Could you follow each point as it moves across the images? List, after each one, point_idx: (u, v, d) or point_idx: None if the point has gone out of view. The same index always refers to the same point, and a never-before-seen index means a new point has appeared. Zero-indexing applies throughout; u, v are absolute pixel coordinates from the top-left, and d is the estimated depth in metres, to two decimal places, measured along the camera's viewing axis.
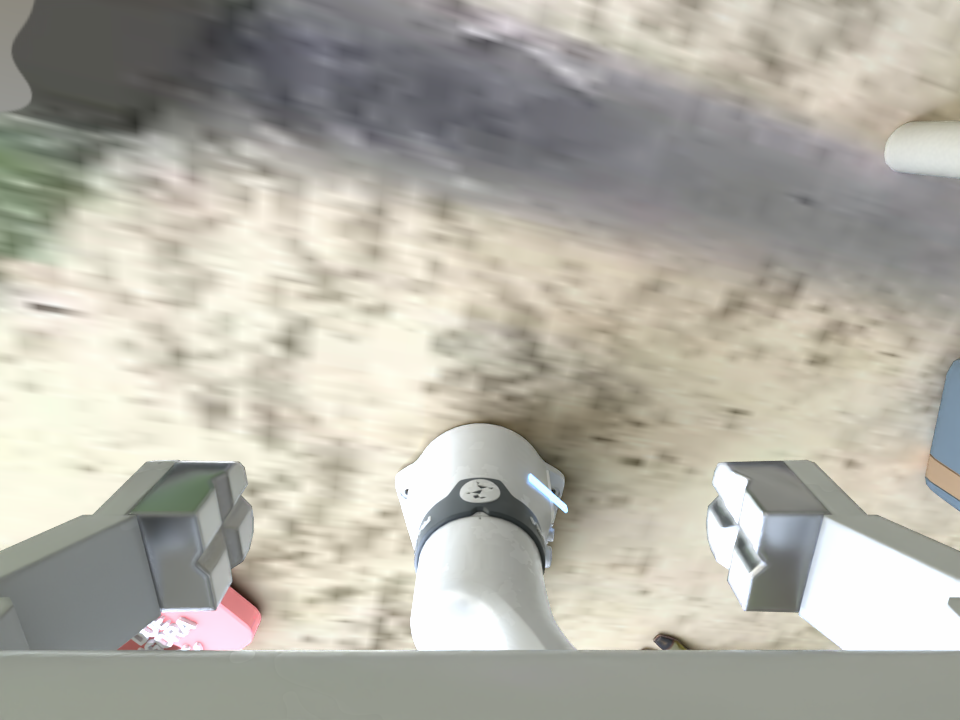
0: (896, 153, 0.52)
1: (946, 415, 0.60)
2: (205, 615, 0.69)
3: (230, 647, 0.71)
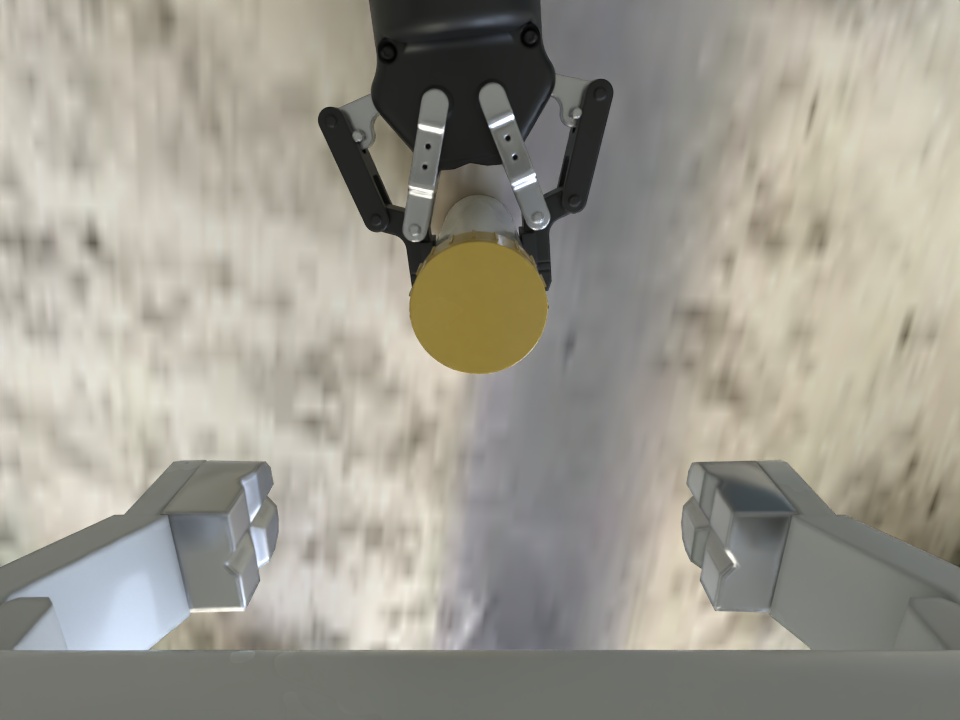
0: None
1: None
2: None
3: None
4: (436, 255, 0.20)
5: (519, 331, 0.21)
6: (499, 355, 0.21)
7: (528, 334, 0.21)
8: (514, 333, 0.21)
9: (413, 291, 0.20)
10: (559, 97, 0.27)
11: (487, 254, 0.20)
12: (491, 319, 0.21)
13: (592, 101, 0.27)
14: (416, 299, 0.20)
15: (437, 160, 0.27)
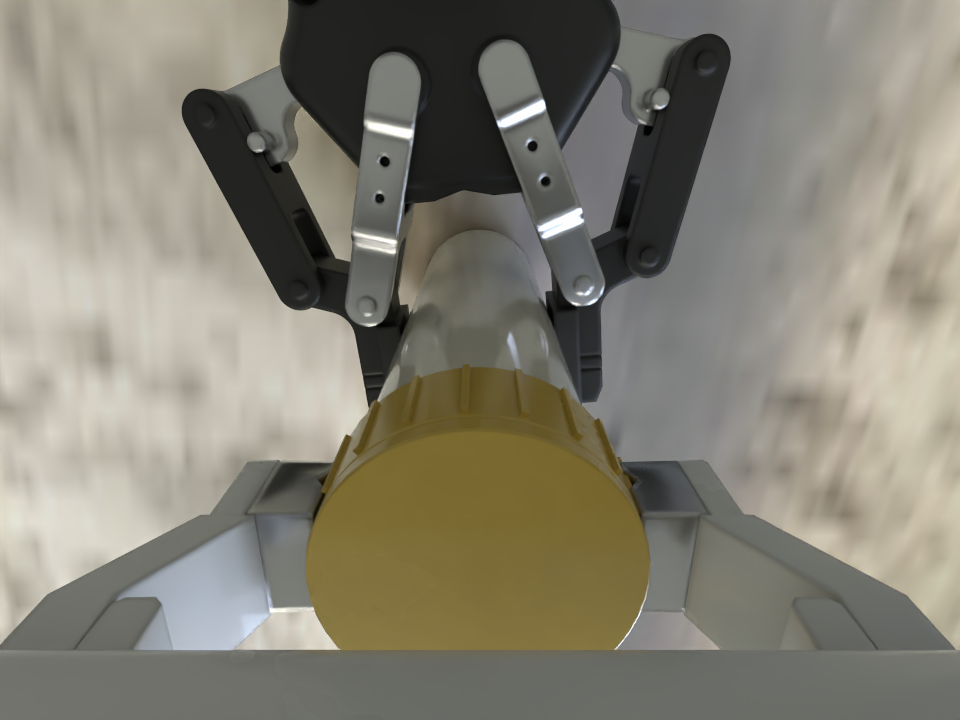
0: None
1: None
2: None
3: None
4: (367, 460, 0.08)
5: (577, 623, 0.09)
6: None
7: (599, 629, 0.09)
8: (565, 628, 0.09)
9: (312, 542, 0.08)
10: (626, 70, 0.15)
11: (500, 459, 0.08)
12: (509, 599, 0.08)
13: (690, 76, 0.14)
14: (321, 558, 0.08)
15: (402, 187, 0.15)
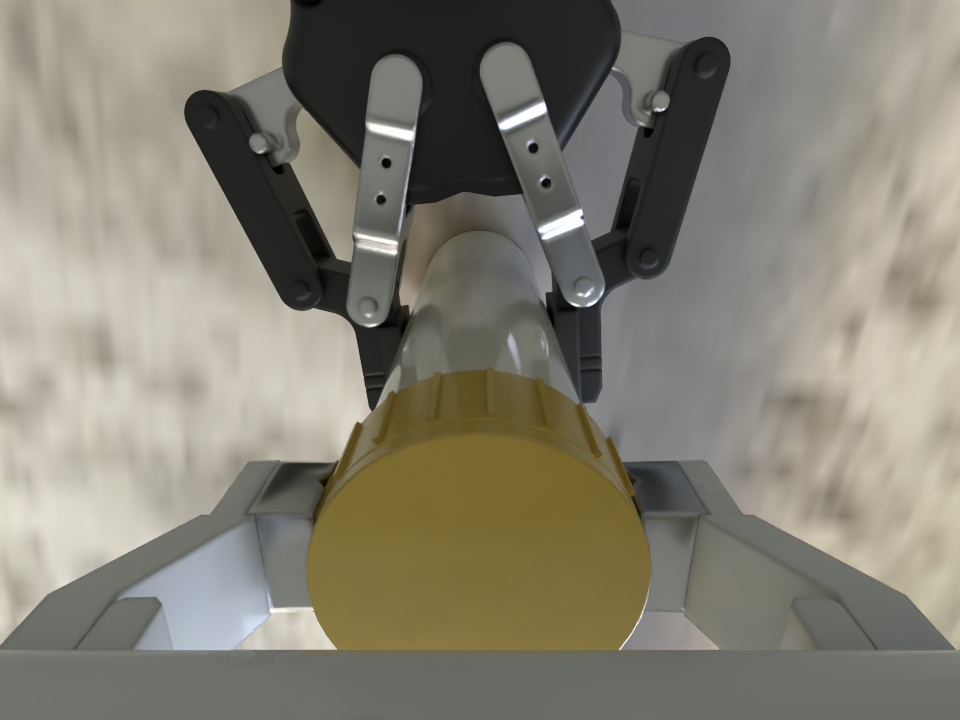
0: None
1: None
2: None
3: None
4: (318, 615, 0.09)
5: (572, 523, 0.08)
6: (610, 582, 0.08)
7: (591, 507, 0.08)
8: (572, 535, 0.08)
9: None
10: (626, 73, 0.15)
11: (350, 525, 0.08)
12: (511, 568, 0.08)
13: (690, 79, 0.14)
14: None
15: (404, 188, 0.15)
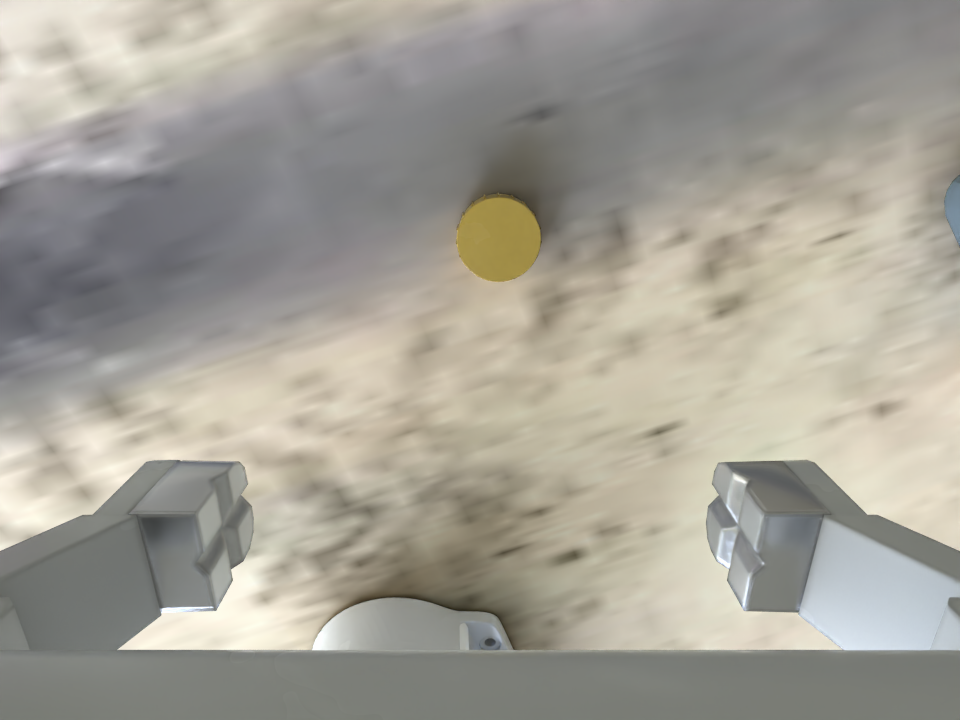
0: None
1: None
2: None
3: None
4: (489, 198, 0.33)
5: (516, 262, 0.34)
6: (499, 272, 0.34)
7: (520, 266, 0.34)
8: (513, 262, 0.34)
9: (467, 214, 0.33)
10: None
11: (517, 210, 0.33)
12: (503, 248, 0.34)
13: None
14: (466, 219, 0.33)
15: None
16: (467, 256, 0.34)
